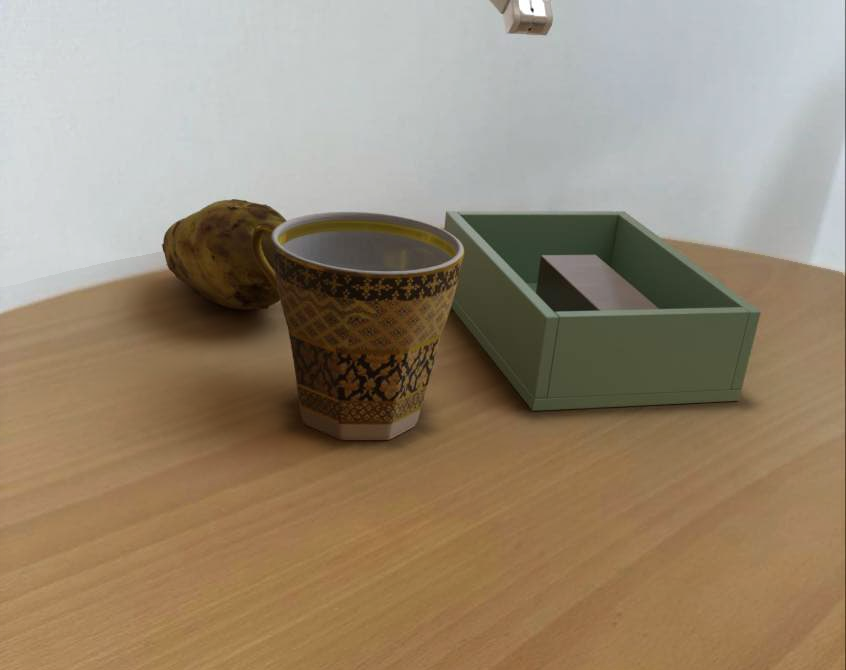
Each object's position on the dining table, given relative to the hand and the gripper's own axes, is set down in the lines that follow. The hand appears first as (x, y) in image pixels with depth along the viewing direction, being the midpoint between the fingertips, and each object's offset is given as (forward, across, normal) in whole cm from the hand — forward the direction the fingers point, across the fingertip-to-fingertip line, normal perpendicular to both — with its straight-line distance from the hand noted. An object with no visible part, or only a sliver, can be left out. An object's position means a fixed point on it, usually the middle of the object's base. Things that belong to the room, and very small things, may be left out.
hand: (530, 29), depth 80 cm
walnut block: (+18, 0, +2) cm, 18 cm away
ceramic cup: (+28, -18, -4) cm, 34 cm away
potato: (+18, -22, +6) cm, 29 cm away
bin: (+23, 0, +1) cm, 23 cm away
